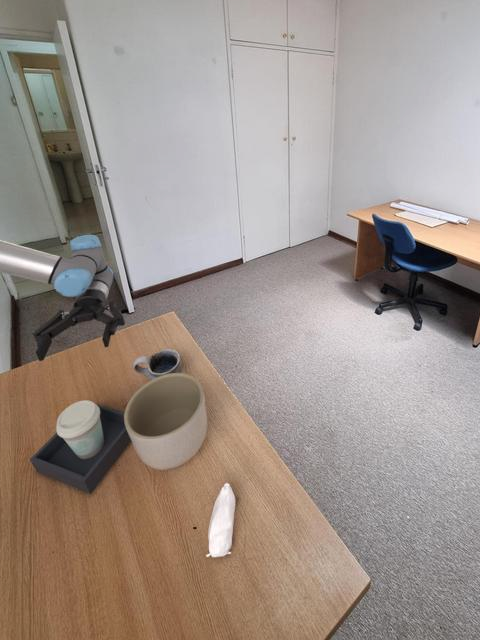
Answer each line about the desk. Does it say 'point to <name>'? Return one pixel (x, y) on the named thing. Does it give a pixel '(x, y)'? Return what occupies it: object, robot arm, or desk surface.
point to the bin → (84, 472)
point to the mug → (159, 364)
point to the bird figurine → (222, 523)
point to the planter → (167, 420)
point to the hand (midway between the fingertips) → (73, 349)
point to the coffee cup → (81, 428)
